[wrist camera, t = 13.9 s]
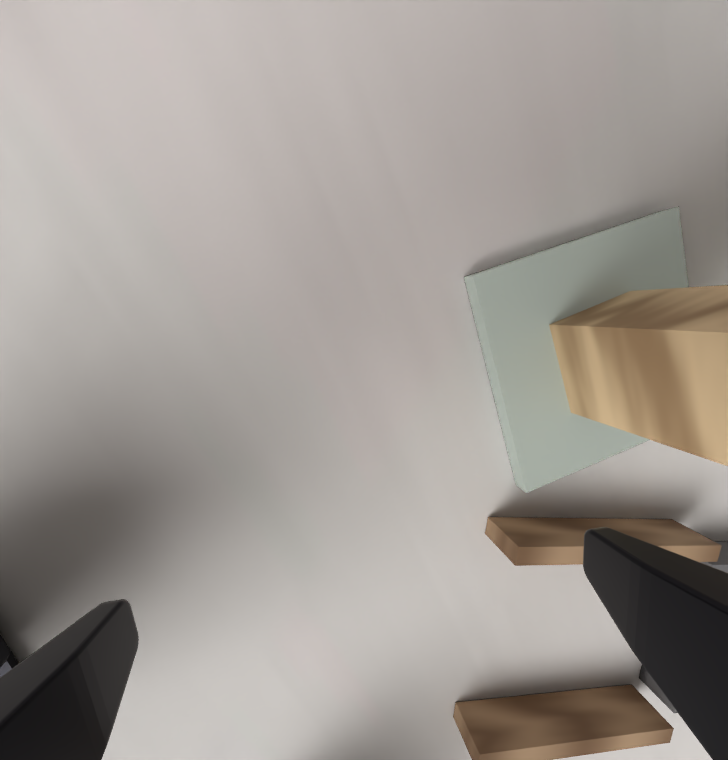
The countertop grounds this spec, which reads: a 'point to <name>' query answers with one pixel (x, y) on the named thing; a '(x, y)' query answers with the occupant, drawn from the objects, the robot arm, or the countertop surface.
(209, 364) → the countertop surface
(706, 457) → the oak block
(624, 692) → the walnut lane
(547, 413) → the pad
